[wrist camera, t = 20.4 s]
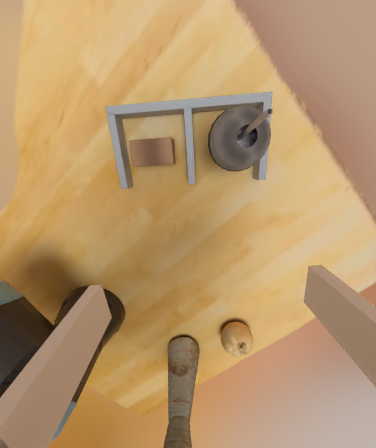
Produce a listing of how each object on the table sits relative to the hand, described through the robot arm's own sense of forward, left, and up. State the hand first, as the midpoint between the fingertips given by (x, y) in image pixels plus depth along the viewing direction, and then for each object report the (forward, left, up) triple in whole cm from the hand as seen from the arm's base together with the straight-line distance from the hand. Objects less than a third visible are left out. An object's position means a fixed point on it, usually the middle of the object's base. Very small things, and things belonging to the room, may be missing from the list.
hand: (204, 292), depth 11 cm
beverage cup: (+5, +10, -26) cm, 29 cm away
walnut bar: (-7, +10, -26) cm, 29 cm away
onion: (+8, -35, -27) cm, 45 cm away
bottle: (-6, -41, -26) cm, 49 cm away
